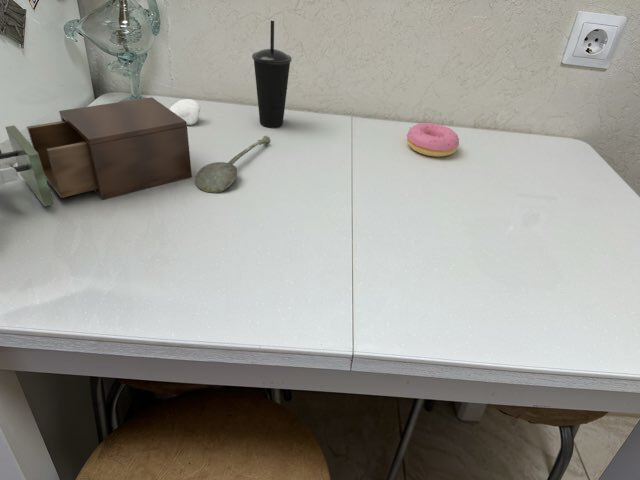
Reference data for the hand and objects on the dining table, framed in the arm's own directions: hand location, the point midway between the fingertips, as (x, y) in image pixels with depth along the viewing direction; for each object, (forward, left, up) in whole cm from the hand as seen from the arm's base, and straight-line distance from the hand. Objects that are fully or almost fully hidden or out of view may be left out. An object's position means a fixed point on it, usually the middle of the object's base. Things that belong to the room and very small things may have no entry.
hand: (7, 160), depth 68 cm
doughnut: (+64, +37, -6) cm, 74 cm away
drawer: (+4, +4, -5) cm, 8 cm away
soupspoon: (+28, +19, -6) cm, 34 cm away
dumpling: (+13, +36, -6) cm, 38 cm away
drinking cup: (+30, +40, -6) cm, 50 cm away
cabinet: (+12, +12, -6) cm, 18 cm away
